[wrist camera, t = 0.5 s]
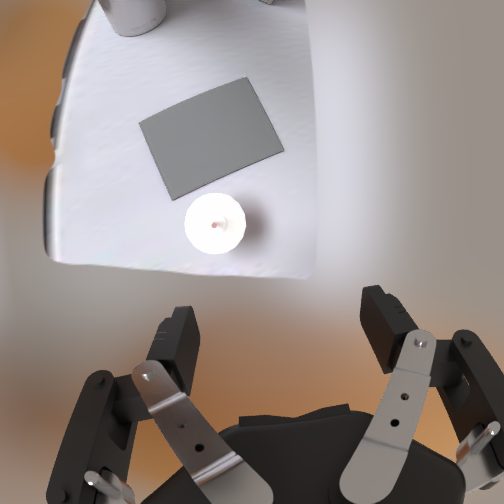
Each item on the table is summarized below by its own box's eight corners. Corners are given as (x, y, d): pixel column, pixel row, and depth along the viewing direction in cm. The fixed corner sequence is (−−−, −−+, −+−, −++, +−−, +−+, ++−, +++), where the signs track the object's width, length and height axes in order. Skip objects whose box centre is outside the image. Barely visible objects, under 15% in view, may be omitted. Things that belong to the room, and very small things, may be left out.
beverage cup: (246, 236, 38) (261, 248, 24) (201, 251, 37) (191, 272, 23) (231, 191, 37) (237, 177, 23) (186, 207, 36) (166, 202, 23)
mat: (139, 123, 34) (138, 122, 34) (246, 78, 35) (246, 76, 34) (172, 200, 36) (171, 200, 36) (283, 150, 37) (283, 150, 36)
